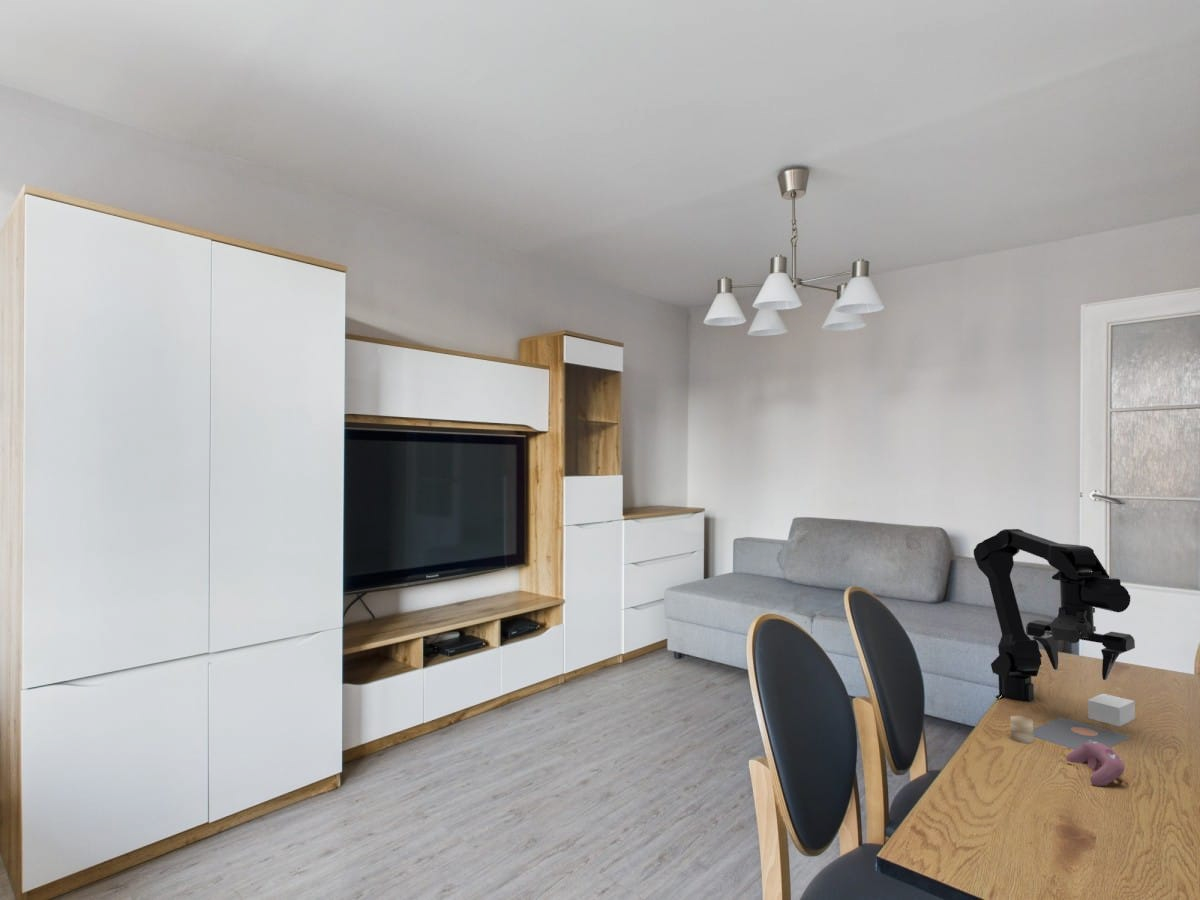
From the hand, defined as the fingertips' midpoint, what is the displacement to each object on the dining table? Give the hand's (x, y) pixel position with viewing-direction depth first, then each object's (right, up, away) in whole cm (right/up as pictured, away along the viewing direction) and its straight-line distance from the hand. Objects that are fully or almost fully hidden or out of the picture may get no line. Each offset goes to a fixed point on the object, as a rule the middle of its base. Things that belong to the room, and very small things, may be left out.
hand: (1079, 674), depth 142 cm
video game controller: (-13, -12, -21) cm, 28 cm away
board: (-4, -12, -5) cm, 14 cm away
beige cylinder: (-17, -12, -7) cm, 22 cm away
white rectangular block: (+10, -12, +4) cm, 16 cm away
